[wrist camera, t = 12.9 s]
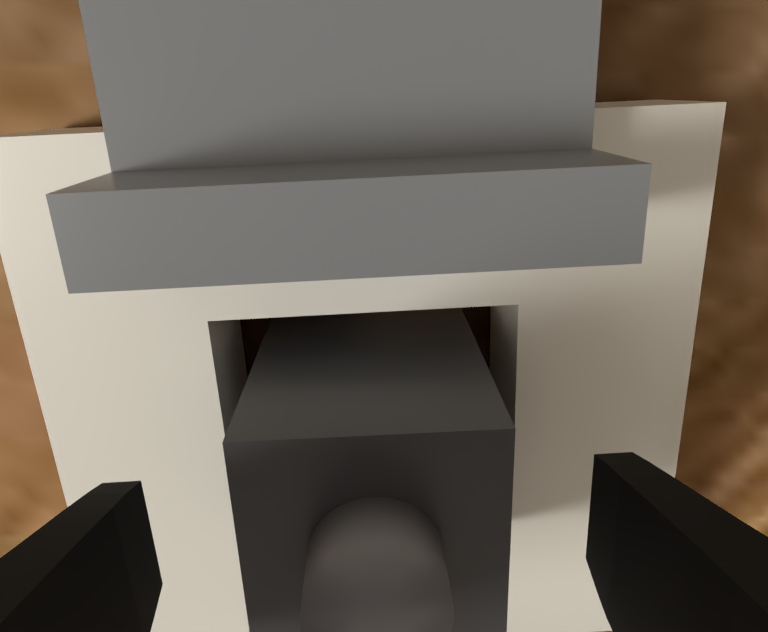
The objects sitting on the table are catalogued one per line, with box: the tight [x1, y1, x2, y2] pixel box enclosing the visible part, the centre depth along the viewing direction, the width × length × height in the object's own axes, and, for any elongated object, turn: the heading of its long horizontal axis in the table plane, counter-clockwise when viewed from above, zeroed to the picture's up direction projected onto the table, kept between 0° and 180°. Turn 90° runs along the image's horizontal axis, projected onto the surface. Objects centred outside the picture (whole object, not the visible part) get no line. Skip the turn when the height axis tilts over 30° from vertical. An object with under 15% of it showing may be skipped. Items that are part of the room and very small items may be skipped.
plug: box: [222, 308, 516, 632], centre depth 11 cm, size 4×4×7 cm
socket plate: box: [0, 100, 726, 632], centre depth 13 cm, size 11×12×2 cm
